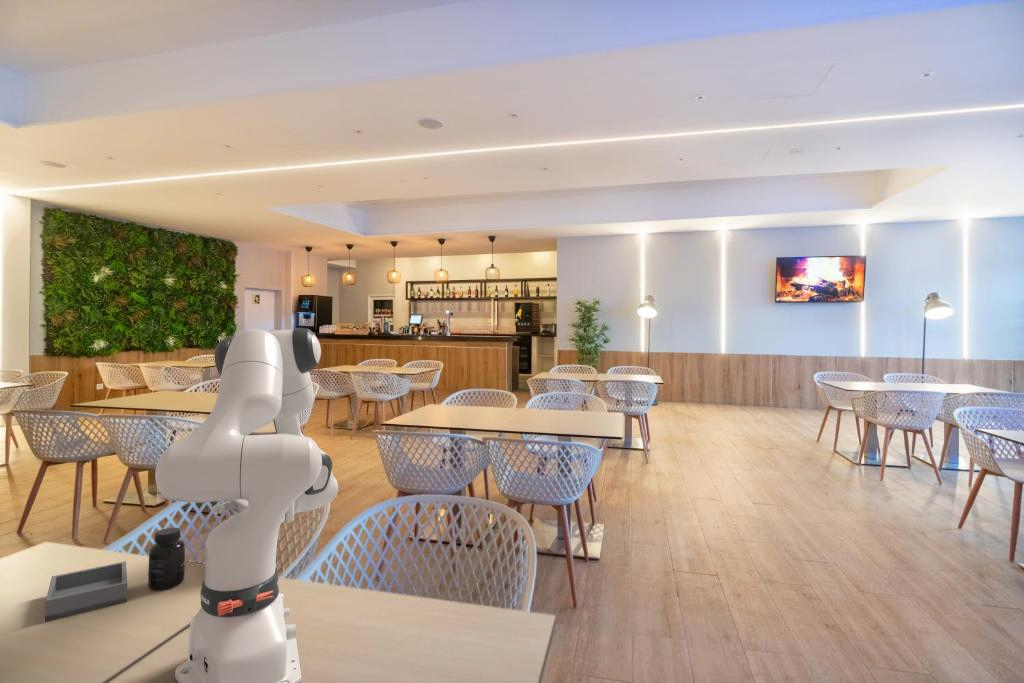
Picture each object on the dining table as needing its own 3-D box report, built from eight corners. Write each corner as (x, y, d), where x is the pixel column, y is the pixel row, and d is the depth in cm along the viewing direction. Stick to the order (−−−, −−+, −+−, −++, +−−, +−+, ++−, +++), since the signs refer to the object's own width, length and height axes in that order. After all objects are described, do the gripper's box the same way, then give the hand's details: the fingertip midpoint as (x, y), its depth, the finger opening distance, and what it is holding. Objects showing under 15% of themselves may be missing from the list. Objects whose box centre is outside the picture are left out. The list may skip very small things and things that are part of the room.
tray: (126, 601, 105) (127, 582, 105) (44, 621, 97) (45, 601, 97) (125, 578, 114) (126, 561, 114) (51, 595, 107) (51, 576, 107)
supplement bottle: (190, 582, 113) (191, 529, 113) (156, 594, 108) (157, 539, 108) (175, 574, 117) (177, 523, 117) (142, 585, 111) (143, 532, 111)
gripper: (260, 481, 139) (205, 492, 128) (296, 498, 126) (238, 513, 115) (259, 504, 139) (204, 517, 128) (296, 523, 126) (238, 540, 115)
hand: (221, 515), depth 121 cm, fingers open, 8 cm apart
